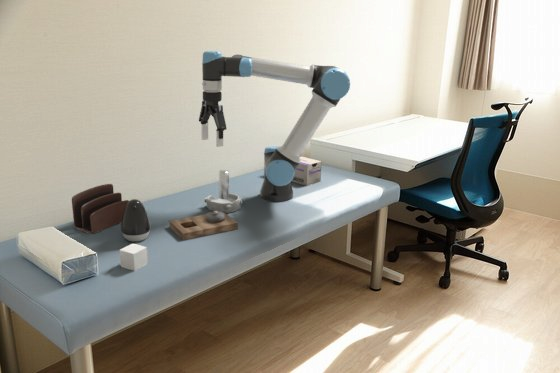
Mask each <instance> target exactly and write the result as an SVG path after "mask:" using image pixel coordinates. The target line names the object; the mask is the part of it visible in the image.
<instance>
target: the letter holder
mask: <svg viewBox="0 0 560 373" xmlns="http://www.w3.org/2000/svg"><path fill="white" fill-rule="evenodd" d="M122 199H123V198H122V193H121V192H114V185H113V183H105V184H101V185H97V186H94V187H91V188H88V189H85V190H83V191H80V192H79V193H76V194H74V195H73V196H72V197H71V208H72V216H73V219H72V220H73V226H74V227H73V228H74V230H76V231H81V232H83V233H87V234H90V235H94V234H97V233H99V232H101V231H103V230H106V229H109V228H111V227H113V226H115V225H118V224H120V223H122V217H123V212H124V209H125V206H126V204H127V203H128V202H129V201H130V200H129V199H127V200H122Z"/></svg>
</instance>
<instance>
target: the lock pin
mask: <svg viewBox="0 0 560 373" xmlns="http://www.w3.org/2000/svg"><path fill="white" fill-rule="evenodd" d="M218 174H219V175H218V176H219V180H218V181H219V182H218V184H219V185H218V199H228V197H229V192H230V190H229V187H230V171H229V170H226V169H222V170H221V169H220V170H219V173H218Z"/></svg>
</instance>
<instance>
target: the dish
mask: <svg viewBox="0 0 560 373" xmlns="http://www.w3.org/2000/svg"><path fill="white" fill-rule="evenodd" d="M203 199H204V200H203V201H204V203H206V208H207V209H208V210H209V211H210V212H213V211H217V212H221V211H222V212H223V213H225V214H227V213H228V214H229V213H233V212H236V211H238V210H239V209H240V207H241V205H242V204H243V199H242V198H240V196H239V195H237V194H236V193H231V192H230V193H229V197H228V199H220V198H215V197H214V196H213V195H211V194H210V195H208V196H207V197H204V198H203Z"/></svg>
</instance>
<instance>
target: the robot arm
mask: <svg viewBox="0 0 560 373" xmlns="http://www.w3.org/2000/svg"><path fill="white" fill-rule="evenodd" d="M201 64H202V83H201V85H202V90H203V91H202V101H201V109H200V112H199V118H198V122H199V123H200V124H201V141H204V140H209V119H210V118H211V116H212V118H213V120H214V123H215V126H216V129H215V131H216V133H215V136H216V142H215V143H216V144H215V145H216V147H224V131H225V130H227V123H226V119H225V114H224V109H223V108H224V106H223V105H222V104H219V102H221V101H222V95H223V94H222V88H223V83H222V82H223V81H222V78H223V77H235V78H236V77H239V78H250V77H251V76H252V77H258V78H263V79H270V80H276V81H282V82H289V83H295V84H301V85H306V86H307V87H308V88H311V89H312V88H313V89H312V90H311V96H312V97H311V98H310V100H309V102H308V103H307V105H306V107H305V108H304V110H303V111H302V113H301V115H300V117H299V118H298V120H297V121H296V123H295V124H294V127H292V129H291V131H290V133H289V134H288V136H287V138H286V139H285V140H284V142H283V144H282V146H267V147H264V150H263V151H264V152H263V156H264V161H263V162H264V163H263V181H262V184H261V188H260V190H259V197H260V198H261V199H263V200H265V201H269V202H284V201H289V200H292V199H293V198H294V191H293V188H292V184H291V181H292V179H293V177H294V174H295V170H296V169H297V167H298V165H299V164H300V156H301V155H302V154H303V152H304V150H305V148H306V147H307V146H308V144H309V143H310V141H311V140H312V138H313V136H314V135H315V133H317V132H316V131H317V130H318V128H319V127H320V125H321V124H322V122H323V120H324V119H325V117H326V116H327V115H328V112H329V111H330V109H332V108H335V107H337V105H338V103H339V102H340V100H341V99H343V98H345V97H346V96H347V94H349V91H350V89H351V88H350V87H351V81H350V80H351V79H350V78H349V75H348V73H347V72H346V71H344V70H343V69H341V68H339V67H336V66H333V65H317V64H311V65H310V66H309V65H302V64H296V63H289V62H283V61H277V60H270V59H264V58H259V57H250V56H245V55H242V54H234V55H232V56H223V53H222V51H217V50H205V51H204V52H202V62H201ZM292 197H293V198H292Z"/></svg>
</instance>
